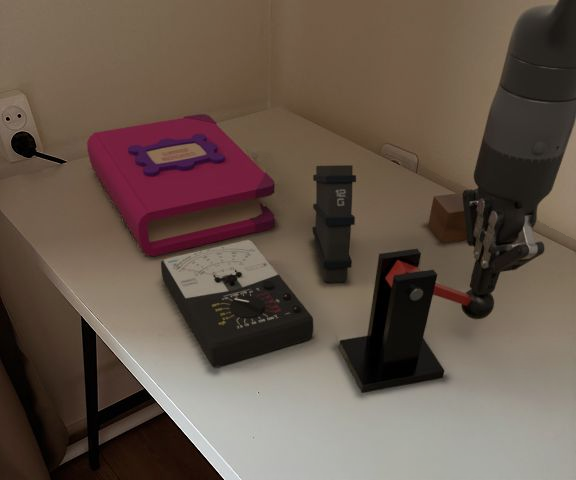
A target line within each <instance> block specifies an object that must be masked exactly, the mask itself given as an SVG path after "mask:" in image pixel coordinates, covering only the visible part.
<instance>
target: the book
mask: <svg viewBox="0 0 576 480" xmlns="http://www.w3.org/2000/svg"><path fill="white" fill-rule="evenodd" d="M86 145H87V154H88V158H89V161H90V165H91V168H92V170H93V171H94V173H95V174H96V176H97V178H98V179H99V181H100V182H101V184H102V186H103V188H104V189H105V191H106V192H107V194H108V196H109V198H110V199H111V201H112V202H113V205H114V206H115V207H116V209H117V211H118V213H119V214H120V216H121V218H122V219H123V221H124V222H125V224H126V225H127V227H128V229H129V231H130V232H131V234H132V235H133V237H134V239H135V241H136V242H137V244H138V245H139V247H140V249H141V251H142V252H143V253H145V254H146V255H148V256H151V257H157V256H161V255H165V254H169V253H174V252H178V251H181V250H186V249H191V248H194V247H199V246H203V245H207V244H211V243H216V242H219V241H225V240H229V239H231V238H237V237H241V236H245V235H249V234H252V233H255V234H258V233H263V232H266V231H270V230H272V229H274V228H275V226H276V224H275V223H276V221H275V219H276V217H275V213H273V211H272V210H271V209H269V207H268V206H267V205H264V204H263V203H262V202H261V201H260V199H262V198H266V197H270V196H273V195H274V194H275V190H276V189H275V185H276V184H275V183H276V182H275V180H274V179H273V178H272V177H271V176H270V175H269V174H268V173H267V172H264V170H262V168H260V166H258V165H257V163H255V162H254V160H252V158H251V157H250V156H248V155H247V153H245V151H244V150H243V149H242V148H241V147H239V145H238V144H237V143H236V142H235V141H233V139H231V137H230V136H229V135H228V134H227V133H225V132H224V130H223V129H221V127H220V126H218V124H217V122H216V120H215V119H214V118H212V117H211V116H210V115H209V114H205V113H198V114H193V115H186V116H183V117H180V118H174V119H168V120H162V121H156V122H150V123H143V124H138V125H133V126H127V127H120V128H114V129H109V130H108V129H107V130H102V131H96V132H93V133H91V135H90V136H89V137H88V139H87V141H86Z"/></svg>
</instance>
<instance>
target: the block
mask: <svg viewBox="0 0 576 480" xmlns="http://www.w3.org/2000/svg"><path fill="white" fill-rule="evenodd" d="M475 224H476V222H475ZM427 227H428V228H429V230H431V232H432V233H433V234H434V235H435V237H436V238H437V239H438V240H439V241H440V243H441V244H446V243H452V242H453V243H454V242H460V241H467V234H466V225H465V215H464V206H463V192H458V193H450V194H441V195H433V199H432V203H431V209H430V214H429V218H428V223H427Z"/></svg>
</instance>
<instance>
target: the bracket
mask: <svg viewBox="0 0 576 480" xmlns="http://www.w3.org/2000/svg"><path fill="white" fill-rule="evenodd" d="M421 257H422V252H421V251H420V250H419V248H411V249H403V250H397V251H389V252H382V253H378V260H377V267H376V273H375V279H374V287H373V293H372V294H373V295H372V301H371V307H370V314H369V321H368V328H367V335H363V336H356V337H351V338H345V339H340V340H339V341H338V343H339V344H338V349H339V351H340V353H341V355H342V357H343V358H344V361H345V363H346V365H347V366H348V369H349V370H350V372H351V375H352V377H353V378H354V380H355V383H356V385H357V386H358V388H359V391H360V392H361V394H364V393H368V392H374V391H379V390H386V389H391V388H395V387H400V386H406V385H411V384H417V383H422V382H428V381H434V380H439V379H443V378H444V374H445V369H444V367H443V366H442V364H441V363H440V360H438V358H437V356H436V355H435V354H434V352H433V350H432V349H431V347H430V346H429V344H428V343H427V342H426V340H425V338H424V336H425V332H426V329H427V328H426V327H427V322H428V318H429V314H430V309H431V306H432V305H431V304H432V301H433V297H434V295H433V292H434V288H435V284H436V283H437V279H438V273H437V272H436V271H435V269H426V270H420V271H419V272H412V273H406V274H399V275H394V277H393V283H392V288H391V286H390V285H389V283H388V282H387V280H386V279H385V278H386V276H387V275H388V273H389V272H390V270H391V269H392V267H393V266H394V264H395V263H396V261H397V260H399V261H402V262H404V263H407V264H410V265H413V266H415V267H417V268H418V269H419V267H420V261H421Z"/></svg>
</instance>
